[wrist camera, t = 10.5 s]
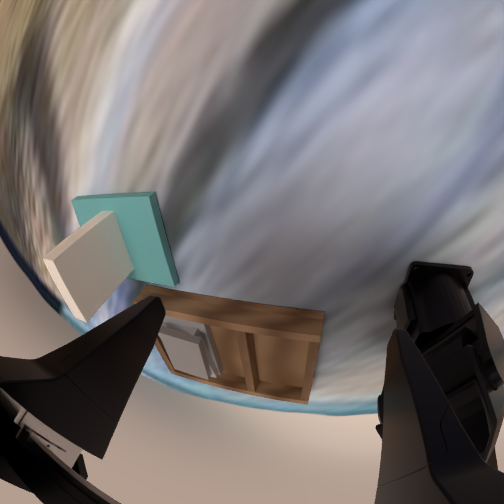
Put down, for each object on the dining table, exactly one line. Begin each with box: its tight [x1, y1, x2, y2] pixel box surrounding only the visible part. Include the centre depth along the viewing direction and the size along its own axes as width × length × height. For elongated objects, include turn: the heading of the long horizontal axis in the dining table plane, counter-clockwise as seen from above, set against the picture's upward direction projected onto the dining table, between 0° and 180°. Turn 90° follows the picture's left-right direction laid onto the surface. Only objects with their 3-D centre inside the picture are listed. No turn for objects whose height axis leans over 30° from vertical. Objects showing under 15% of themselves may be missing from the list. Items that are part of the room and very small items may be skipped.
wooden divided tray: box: [133, 285, 324, 404], centre depth 30 cm, size 20×15×3 cm
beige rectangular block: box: [43, 211, 134, 322], centre depth 23 cm, size 2×7×8 cm, turn 5°
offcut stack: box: [158, 315, 223, 380], centre depth 31 cm, size 6×11×3 cm, turn 5°
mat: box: [71, 192, 179, 287], centre depth 26 cm, size 12×10×1 cm
